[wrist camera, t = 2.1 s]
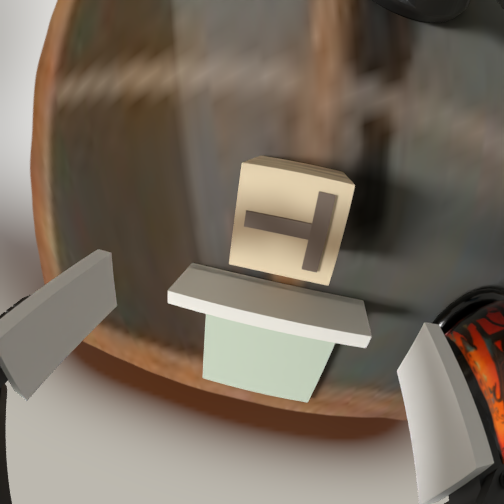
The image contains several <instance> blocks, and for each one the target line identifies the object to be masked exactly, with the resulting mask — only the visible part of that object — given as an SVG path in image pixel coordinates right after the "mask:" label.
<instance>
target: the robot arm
mask: <svg viewBox="0 0 504 504" xmlns="http://www.w3.org/2000/svg"><path fill="white" fill-rule="evenodd" d="M373 1H374V2H376V3H377V4H379V5H381V6H383V7H384V8H386V9H388V10H390V11H392V12H395V13H397V14H399V15H402V16H405V17H408V18H411V19H414V20H418V21H423V22H432V23H438V22H445V21H449V20H451V19H453V18H455V17H456V16H458V15H459V14H460V13H462V12H463V11H464V10H465V9H466V8H467V6H468V5H469V2H470V0H373ZM497 2H498V3H499V4H500V5H501V7H502V8H503V9H504V0H497ZM116 306H117V302H116V295H115V286H114V277H113V267H112V255H111V253H110V252H106V251H103V250H99V249H98V250H96V251H95V252H93V253H92V254H90V255H88V256H87V257H85V258H84V259H82V260H81V261H79V262H78V263H76V264H75V265H73V266H72V267H70V268H69V269H67V270H66V271H64V272H63V273H61V274H60V275H59V276H57V277H56V278H54V279H53V280H51V281H50V282H49V283H47V284H46V285H44V286H43V287H42V288H40V289H39V290H37V291H36V292H35V293H33V294H32V295H29V296H27V297H24V298H22V299H21V300H20V301H18V302H17V303H16V304H14V305H13V307H10V308H9V309H8V310H7V311H6V313H5V312H4V313H3V314H1V315H0V504H12V501H11V496H10V489H9V482H8V472H7V461H6V439H5V420H6V399H7V387H6V385H5V383H6V382H7V381H9V382H10V384H11V386H12V387H13V389H14V391H15V392H17V393H18V394H19V395H20V396H21V397H23V398H24V399H25V400H26V401H27V400H28V399H29V398H30V397H31V396H32V394H33V393H34V392H35V391H36V390H37V389H38V388H39V387H40V385H41V384H42V383H43V382H44V381H45V380H46V379H47V378H48V377H49V375H50V374H51V373H52V372H53V371H54V370H55V369H56V368H57V367H58V366H59V365H60V363H61V362H62V361H63V360H64V359H65V358H66V357H67V356H68V355H69V354H70V353H71V352H72V351H73V350H74V349H75V347H77V346H78V344H79V343H80V342H81V341H82V340H83V339H84V338H85V337H86V336H87V335H88V334H89V333H90V332H91V331H92V330H93V329H94V328H95V327H96V326H97V325H98V324H99V323H100V322H101V321H102V320H103V319H104V318H105V317H106V316H107V315H108V314H109V313H110V312H111V311H112V310H113V309H114V308H115V307H116ZM397 374H398V378H399V382H400V386H401V390H402V395H403V399H404V404H405V409H406V414H407V419H408V424H409V430H410V435H411V441H412V447H413V454H414V461H415V469H416V477H417V487H418V499H419V504H431V503H435V502H438V501H440V500H441V499H443V498H445V497H446V496H448V495H449V501H448V502H446V503H444V504H504V464H502V462H501V460H500V456H499V452H498V449H497V446H496V443H495V439H494V436H493V433H492V430H490V424H489V422H488V421H487V416H486V413H485V411H484V408H483V406H482V405H481V404H480V402H479V401H478V400H477V398H476V397H472V395H471V392H470V390H469V387H468V385H467V382H466V380H465V378H464V375H463V373H462V371H461V369H460V367H459V364H458V362H457V360H456V358H455V356H454V354H453V352H452V349H451V347H450V345H449V343H448V341H447V339H446V337H445V335H444V333H443V331H442V330H441V328H440V326H439V324H433V323H426V322H424V324H423V326H422V328H421V330H420V332H419V334H418V335H417V337H416V339H415V341H414V343H413V344H412V346H411V348H410V350H409V351H408V353H407V355H406V357H405V358H404V360H403V362H402V363H401V365H400V366H399V368H398V370H397Z"/></svg>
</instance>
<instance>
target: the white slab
mask: <svg viewBox="0 0 504 504" xmlns="http://www.w3.org/2000/svg"><path fill="white" fill-rule="evenodd" d="M168 303H170V304H173V305H176V306H180V307H183V308H187V309H190V310H194V311H197V312H201V313H205V314H208V315H212V316H216V317H220V318H224V319H227V320H231V321H235V322H239V323H243V324H248V325H252V326H256V327H260V328H265V329H269V330H273V331H278V332H283V333H287V334H292V335H297V336H302V337H307V338H312V339H317V340H322V341H327V342H333V343H338V344H344V345H350V346H356V347H362V348H366V347H367V345H368V343H369V341H370V339H371V337H372V336H371V331H370V327H369V322H368V318H367V313H366V309H365V305H364V301H363V300H359V299H354V298H349V297H344V296H340V295H335V294H330V293H325V292H320V291H316V290H311V289H306V288H301V287H297V286H292V285H288V284H283V283H278V282H274V281H269V280H265V279H260V278H256V277H252V276H247V275H243V274H238V273H234V272H230V271H225V270H221V269H217V268H213V267H208V266H204V265H200V264H196V263H192V264H191V265H190V266H189V267H188V268H187V269H186V270H185V272H184V273H183V274H182V275H181V276H180V277H179V278H178V279H177V281H176V282H175V283H174V284H173V285H172V286H171V287H170V289H169V290H168Z"/></svg>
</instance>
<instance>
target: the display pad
mask: <svg viewBox="0 0 504 504" xmlns="http://www.w3.org/2000/svg"><path fill="white" fill-rule="evenodd" d="M334 345H335V343H333V342H327V341H322V340H317V339H312V338H307V337H302V336H297V335H292V334H287V333H283V332H278V331H273V330H269V329H265V328H260V327H256V326H252V325H248V324H243V323H239V322H235V321H231V320H227V319H224V318H220V317H216V316H212V315H208V314H206V323H205V341H204V360H203V378H205V379H208V380H211V381H215V382H218V383H222V384H226V385H229V386H233V387H237V388H241V389H245V390H249V391H253V392H257V393H262V394H266V395H271V396H276V397H281V398H286V399H291V400H297V401H302V402H308V401H309V399H310V397H311V395H312V393H313V391H314V389H315V387H316V385H317V383H318V380H319V378H320V376H321V374H322V372H323V370H324V368H325V365H326V363H327V361H328V359H329V356H330V354H331V352H332V350H333V347H334Z"/></svg>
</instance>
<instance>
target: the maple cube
mask: <svg viewBox="0 0 504 504" xmlns="http://www.w3.org/2000/svg"><path fill="white" fill-rule="evenodd" d="M354 188H355V184H354V183H353V182H352V181H351V180H350V179H349V178H348V177H347V176H346V175H345V174H344V173H343V172H341V171H337V170H333V169H328V168H324V167H319V166H315V165H310V164H305V163H300V162H295V161H290V160H284V159H279V158H273V157H267V156H258V157H255V158H253V159H250V160H247V161H245V162H242V166H241V174H240V181H239V189H238V196H237V204H236V211H235V219H234V227H233V235H232V243H231V252H230V260H229V264H231V265H235V266H240V267H244V268H249V269H253V270H258V271H262V272H267V273H271V274H276V275H281V276H285V277H290V278H295V279H299V280H304V281H309V282H313V283H318V284H323V285H328V286H329V282H330V279H331V276H332V272H333V269H334V266H335V262H336V259H337V255H338V252H339V248H340V244H341V241H342V237H343V233H344V229H345V225H346V222H347V218H348V214H349V210H350V205H351V201H352V197H353V193H354Z"/></svg>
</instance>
